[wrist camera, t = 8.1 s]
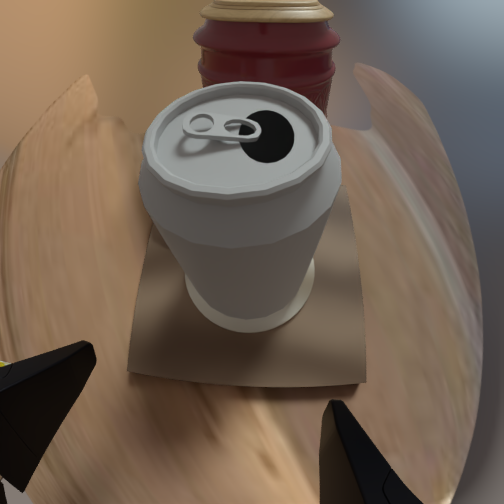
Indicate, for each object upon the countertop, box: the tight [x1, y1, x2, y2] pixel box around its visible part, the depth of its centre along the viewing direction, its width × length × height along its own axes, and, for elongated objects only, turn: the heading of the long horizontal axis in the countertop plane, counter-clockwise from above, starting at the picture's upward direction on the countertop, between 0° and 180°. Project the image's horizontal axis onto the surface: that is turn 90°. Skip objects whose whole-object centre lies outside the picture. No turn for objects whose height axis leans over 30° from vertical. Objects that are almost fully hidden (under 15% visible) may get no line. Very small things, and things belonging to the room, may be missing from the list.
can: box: [138, 81, 341, 320], centre depth 13 cm, size 8×8×12 cm
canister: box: [193, 0, 340, 119], centre depth 20 cm, size 13×13×18 cm
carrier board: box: [127, 185, 366, 387], centre depth 19 cm, size 16×16×3 cm
